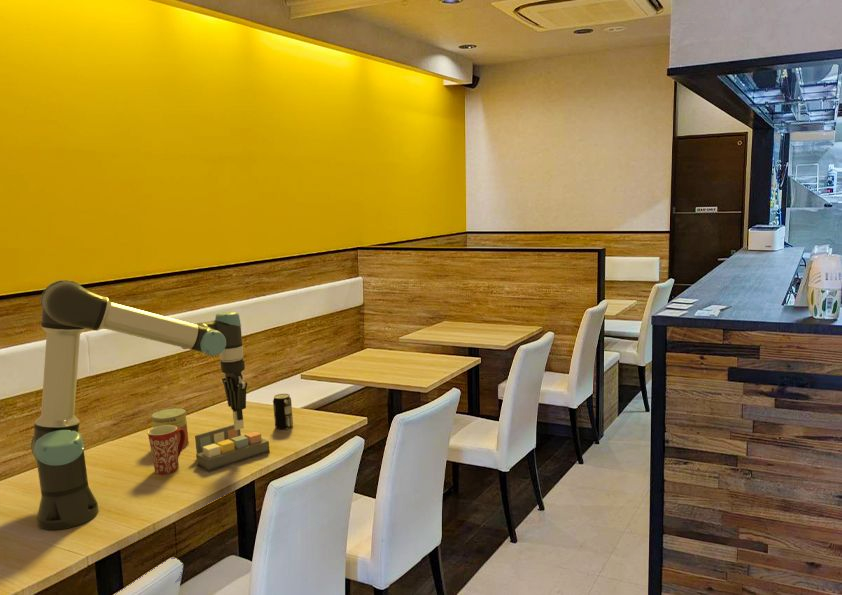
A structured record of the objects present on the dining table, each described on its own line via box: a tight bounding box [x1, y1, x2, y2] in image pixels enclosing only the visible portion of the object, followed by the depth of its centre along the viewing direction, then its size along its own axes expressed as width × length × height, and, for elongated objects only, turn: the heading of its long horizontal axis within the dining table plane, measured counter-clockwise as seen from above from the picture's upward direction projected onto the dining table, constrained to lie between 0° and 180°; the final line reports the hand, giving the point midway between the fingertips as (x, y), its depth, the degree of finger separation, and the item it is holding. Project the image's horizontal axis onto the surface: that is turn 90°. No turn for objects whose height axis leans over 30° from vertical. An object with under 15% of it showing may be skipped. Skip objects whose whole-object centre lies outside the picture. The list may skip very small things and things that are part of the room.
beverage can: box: [272, 393, 294, 430], centre depth 264 cm, size 7×7×12 cm
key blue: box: [231, 435, 248, 449], centre depth 236 cm, size 4×4×4 cm
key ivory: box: [203, 444, 221, 458], centre depth 229 cm, size 4×4×4 cm
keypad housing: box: [195, 437, 270, 473], centre depth 235 cm, size 22×8×4 cm, turn 133°
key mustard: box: [217, 439, 235, 453], centre depth 232 cm, size 4×4×4 cm
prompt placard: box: [194, 423, 241, 454], centre depth 242 cm, size 16×1×8 cm, turn 133°
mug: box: [146, 425, 185, 475], centre depth 229 cm, size 13×9×14 cm
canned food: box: [151, 407, 190, 450], centre depth 250 cm, size 11×11×12 cm
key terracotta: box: [243, 430, 263, 445], centre depth 239 cm, size 4×4×4 cm
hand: (239, 428), depth 235 cm, fingers closed
